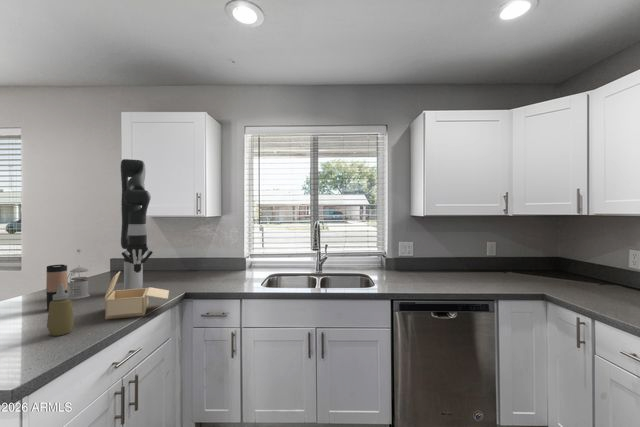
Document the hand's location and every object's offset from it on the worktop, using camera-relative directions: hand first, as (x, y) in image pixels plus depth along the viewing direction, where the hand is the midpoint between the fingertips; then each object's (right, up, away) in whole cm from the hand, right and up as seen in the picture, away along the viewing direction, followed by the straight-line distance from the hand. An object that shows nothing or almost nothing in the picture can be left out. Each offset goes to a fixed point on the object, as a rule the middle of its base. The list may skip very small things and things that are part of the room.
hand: (137, 272), depth 154 cm
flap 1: (-10, -9, -4) cm, 14 cm away
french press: (-46, -18, +26) cm, 56 cm away
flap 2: (+4, -9, +1) cm, 10 cm away
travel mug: (-38, -18, +3) cm, 42 cm away
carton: (-3, -17, -1) cm, 18 cm away
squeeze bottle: (-13, -18, -29) cm, 36 cm away
